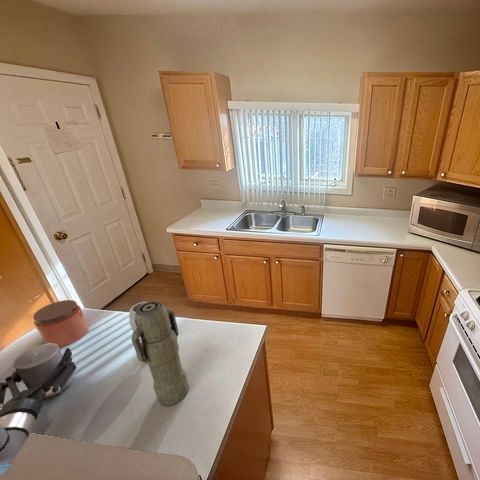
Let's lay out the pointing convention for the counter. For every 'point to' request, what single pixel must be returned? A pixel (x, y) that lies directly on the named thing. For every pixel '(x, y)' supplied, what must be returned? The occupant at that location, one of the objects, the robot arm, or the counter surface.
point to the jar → (61, 323)
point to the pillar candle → (39, 365)
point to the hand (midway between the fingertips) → (48, 356)
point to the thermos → (160, 351)
